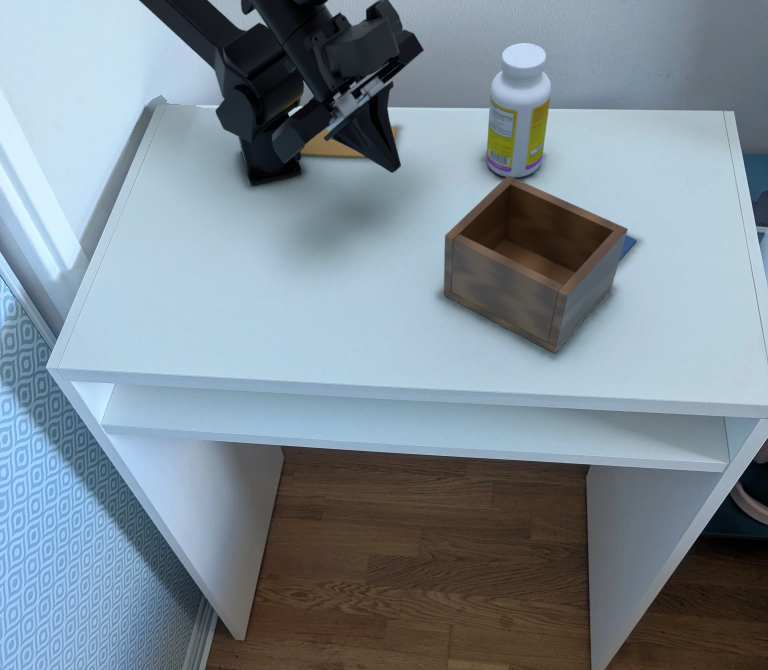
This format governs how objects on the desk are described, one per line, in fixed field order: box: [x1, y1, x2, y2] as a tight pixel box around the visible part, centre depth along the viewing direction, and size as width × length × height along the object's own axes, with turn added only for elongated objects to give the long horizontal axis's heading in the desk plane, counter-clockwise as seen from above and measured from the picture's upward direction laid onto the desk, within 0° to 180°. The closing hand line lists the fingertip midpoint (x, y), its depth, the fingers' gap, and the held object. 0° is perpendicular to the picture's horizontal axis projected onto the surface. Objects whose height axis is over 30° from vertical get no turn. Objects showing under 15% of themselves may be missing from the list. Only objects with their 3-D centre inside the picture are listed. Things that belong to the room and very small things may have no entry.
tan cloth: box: [301, 126, 398, 159], centre depth 95 cm, size 12×6×1 cm, turn 82°
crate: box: [443, 176, 629, 354], centre depth 78 cm, size 14×11×8 cm
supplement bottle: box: [486, 42, 552, 178], centre depth 86 cm, size 7×7×13 cm
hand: (396, 169), depth 80 cm, fingers closed
